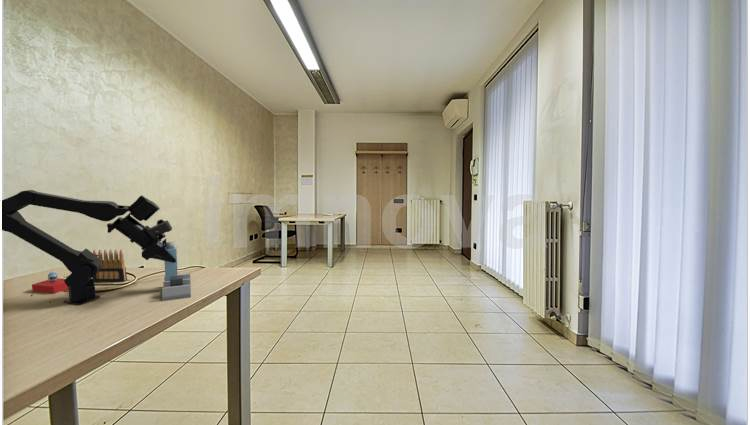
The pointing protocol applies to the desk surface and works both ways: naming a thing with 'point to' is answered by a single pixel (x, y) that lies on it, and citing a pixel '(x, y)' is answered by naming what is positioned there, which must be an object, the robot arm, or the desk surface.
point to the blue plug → (169, 266)
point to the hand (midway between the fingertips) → (175, 260)
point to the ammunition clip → (111, 267)
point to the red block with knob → (50, 285)
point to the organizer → (177, 287)
